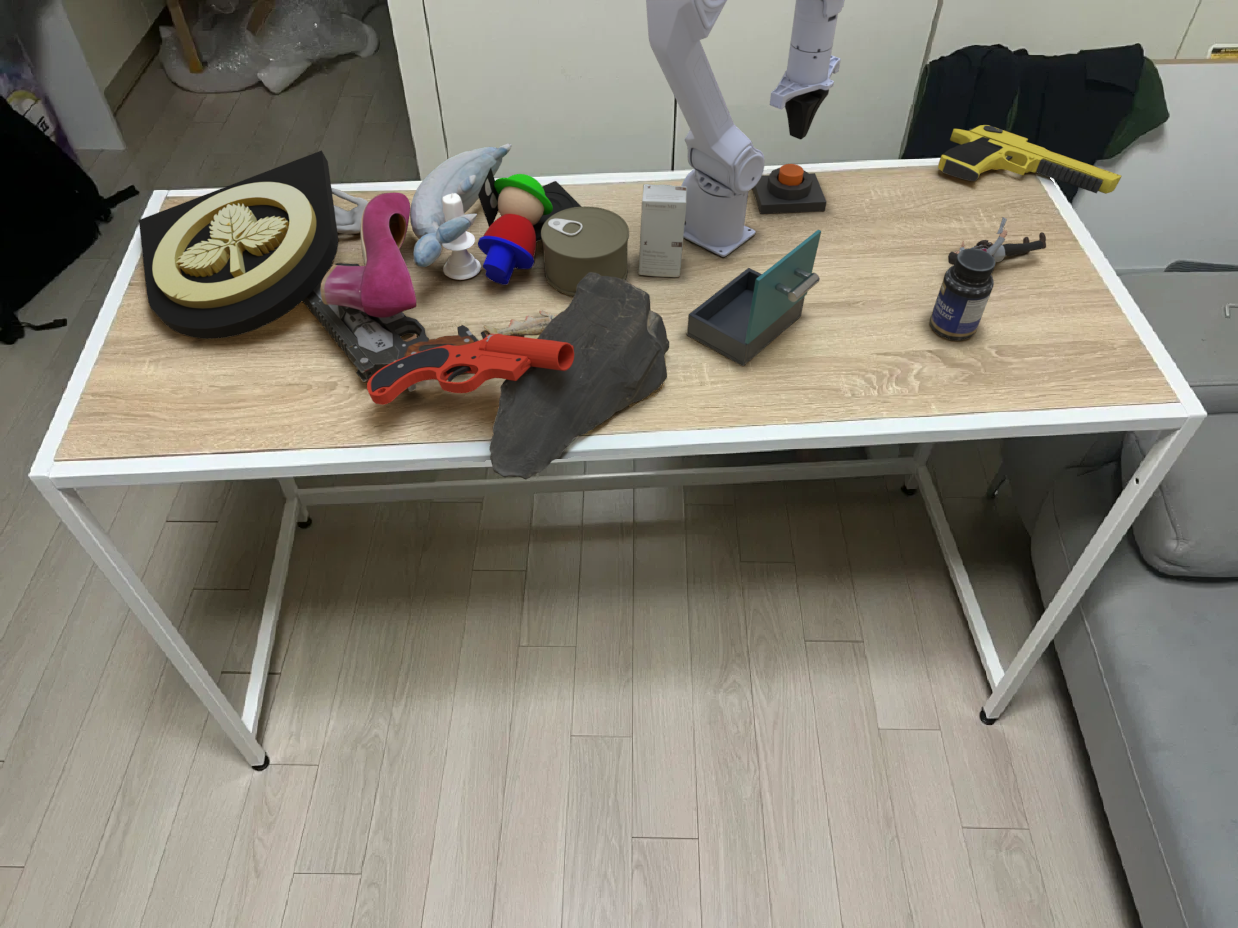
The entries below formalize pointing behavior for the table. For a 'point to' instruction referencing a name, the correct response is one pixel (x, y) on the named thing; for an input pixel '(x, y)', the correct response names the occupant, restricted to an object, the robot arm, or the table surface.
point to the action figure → (1003, 246)
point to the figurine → (349, 213)
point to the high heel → (376, 263)
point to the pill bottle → (963, 295)
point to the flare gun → (469, 364)
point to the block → (788, 195)
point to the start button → (791, 174)
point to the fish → (524, 326)
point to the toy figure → (510, 223)
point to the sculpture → (449, 177)
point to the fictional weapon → (376, 334)
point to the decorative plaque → (241, 251)
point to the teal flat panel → (783, 286)
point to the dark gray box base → (735, 320)
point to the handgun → (1018, 159)
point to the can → (584, 246)
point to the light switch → (555, 204)
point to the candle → (459, 244)
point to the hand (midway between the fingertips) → (797, 135)
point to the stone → (581, 375)
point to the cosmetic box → (662, 230)
